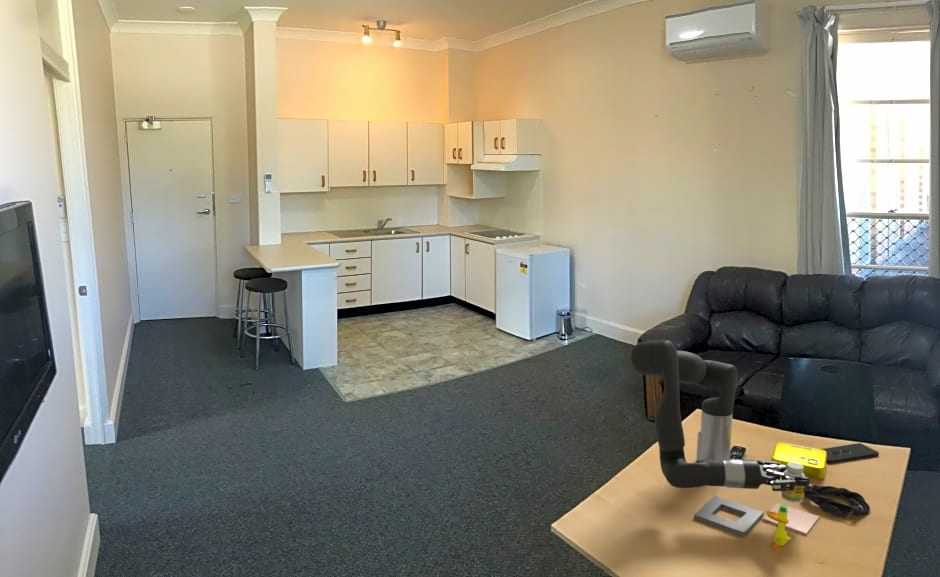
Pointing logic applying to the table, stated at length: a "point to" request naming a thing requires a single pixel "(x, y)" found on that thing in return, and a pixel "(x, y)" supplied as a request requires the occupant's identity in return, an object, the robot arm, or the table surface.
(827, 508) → the cable
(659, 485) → the table surface
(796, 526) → the terracotta tile
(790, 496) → the supplement bottle
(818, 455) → the element tile
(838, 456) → the smart home device
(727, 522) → the socket block
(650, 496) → the table surface
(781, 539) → the toy figure
